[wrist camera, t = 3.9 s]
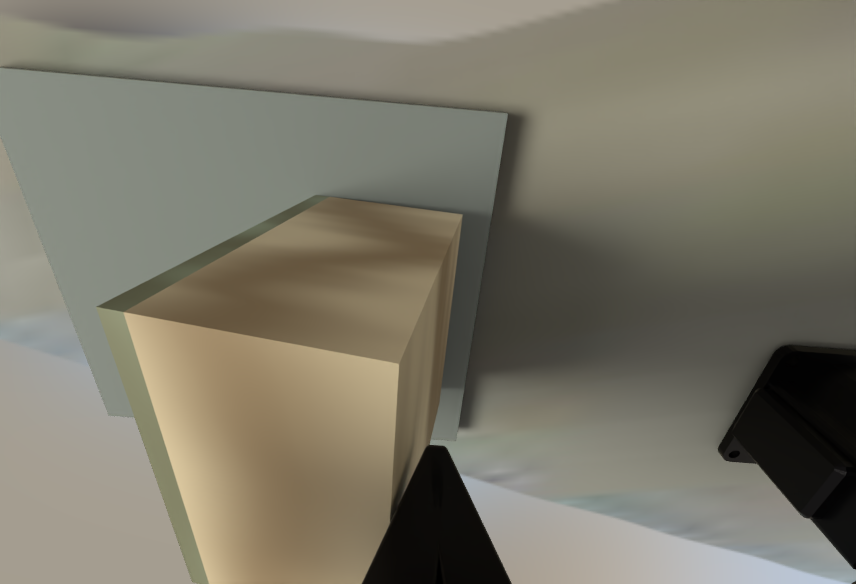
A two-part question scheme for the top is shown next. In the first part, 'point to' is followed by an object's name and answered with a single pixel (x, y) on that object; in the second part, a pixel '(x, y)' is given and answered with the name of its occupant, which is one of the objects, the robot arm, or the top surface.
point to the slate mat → (230, 184)
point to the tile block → (291, 385)
